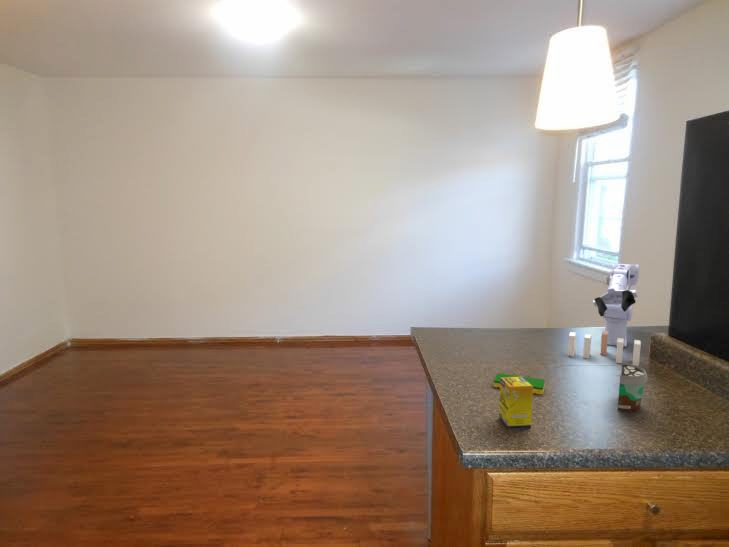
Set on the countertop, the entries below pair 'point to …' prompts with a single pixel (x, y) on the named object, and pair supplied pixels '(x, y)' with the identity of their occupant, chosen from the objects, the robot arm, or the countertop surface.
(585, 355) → the domino
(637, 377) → the food container
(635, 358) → the domino
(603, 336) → the domino
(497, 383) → the dish sponge
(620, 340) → the domino
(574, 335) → the domino
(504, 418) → the supplement box
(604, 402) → the countertop surface
